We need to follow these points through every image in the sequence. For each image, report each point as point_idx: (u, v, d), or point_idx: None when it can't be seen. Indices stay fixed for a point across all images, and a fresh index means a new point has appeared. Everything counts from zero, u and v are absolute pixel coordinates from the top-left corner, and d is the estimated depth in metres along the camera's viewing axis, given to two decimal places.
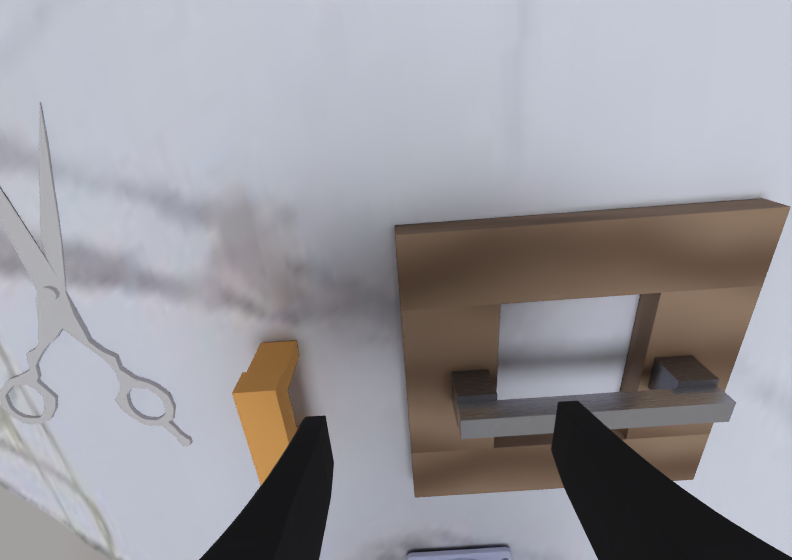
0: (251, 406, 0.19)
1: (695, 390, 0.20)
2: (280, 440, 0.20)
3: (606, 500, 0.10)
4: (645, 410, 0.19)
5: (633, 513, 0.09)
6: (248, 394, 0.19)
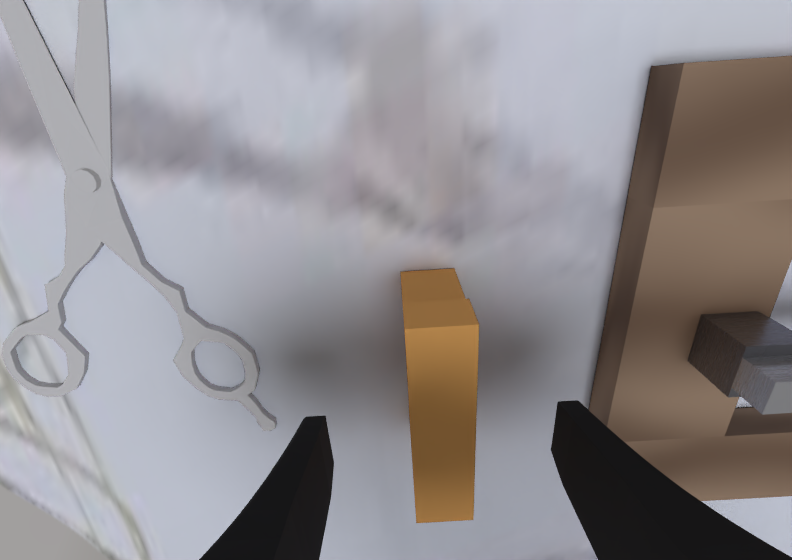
0: (431, 353, 0.11)
1: None
2: (464, 414, 0.12)
3: (606, 500, 0.10)
4: None
5: (633, 513, 0.09)
6: (431, 331, 0.11)
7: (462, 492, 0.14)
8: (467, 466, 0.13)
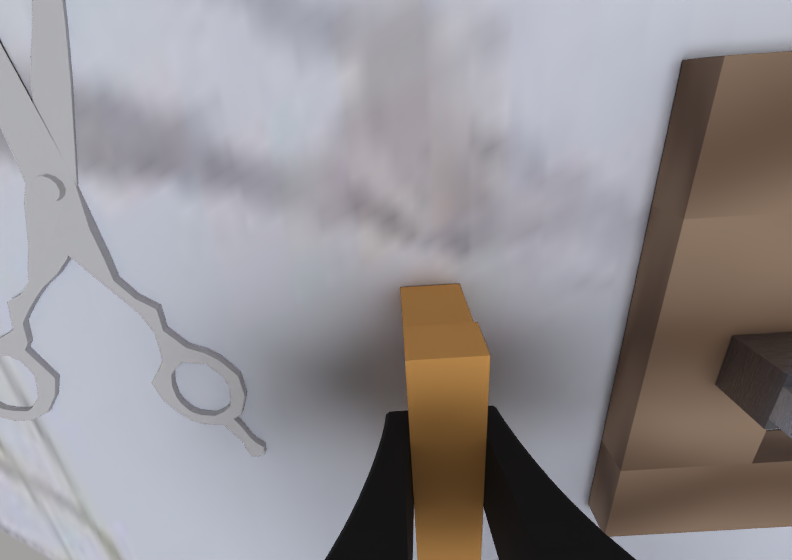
0: (436, 387, 0.10)
1: None
2: (472, 452, 0.11)
3: (501, 506, 0.10)
4: None
5: (515, 520, 0.09)
6: (435, 363, 0.10)
7: (469, 534, 0.12)
8: (475, 507, 0.12)
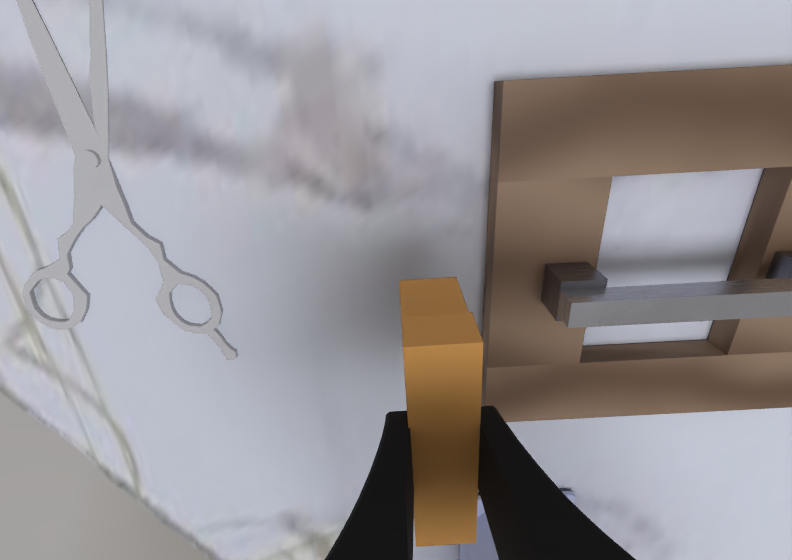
0: (432, 373, 0.10)
1: None
2: (466, 435, 0.11)
3: (502, 506, 0.10)
4: (784, 294, 0.17)
5: (515, 520, 0.09)
6: (431, 350, 0.10)
7: (464, 515, 0.13)
8: (470, 489, 0.12)
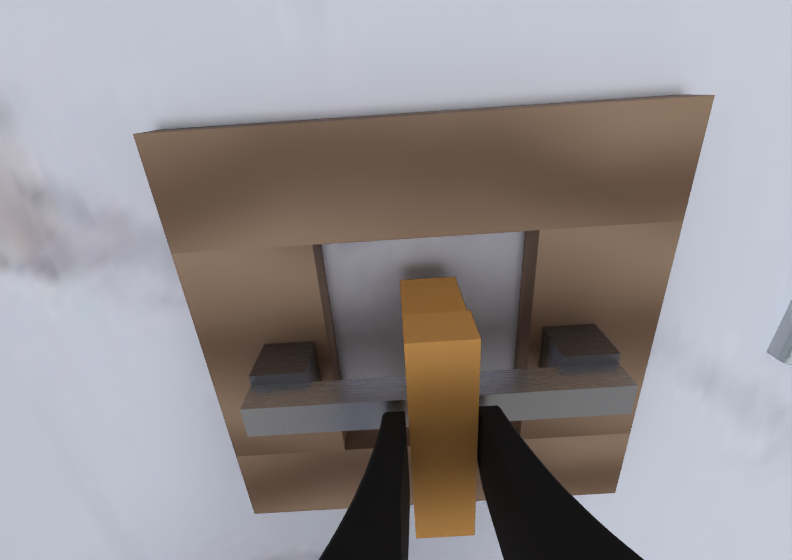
0: (432, 368, 0.11)
1: (586, 369, 0.14)
2: (465, 429, 0.12)
3: (507, 505, 0.10)
4: (507, 396, 0.13)
5: (521, 519, 0.09)
6: (431, 346, 0.11)
7: (463, 507, 0.13)
8: (468, 482, 0.13)
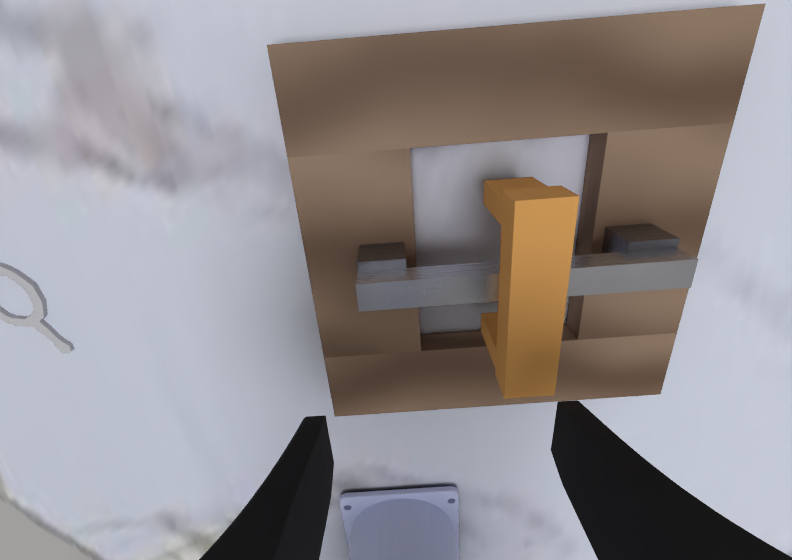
0: (536, 225, 0.13)
1: (650, 252, 0.16)
2: (557, 286, 0.14)
3: (606, 500, 0.10)
4: (585, 270, 0.15)
5: (633, 513, 0.09)
6: (537, 204, 0.13)
7: (548, 366, 0.15)
8: (555, 340, 0.15)
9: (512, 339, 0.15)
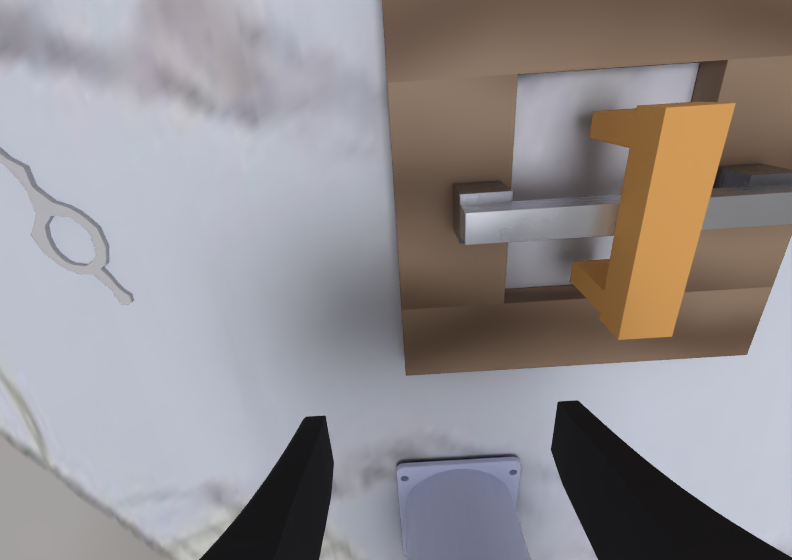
0: (684, 136, 0.12)
1: (773, 186, 0.15)
2: (695, 209, 0.13)
3: (606, 500, 0.10)
4: (711, 200, 0.14)
5: (633, 513, 0.09)
6: (688, 112, 0.12)
7: (670, 303, 0.14)
8: (683, 272, 0.14)
9: (637, 271, 0.14)
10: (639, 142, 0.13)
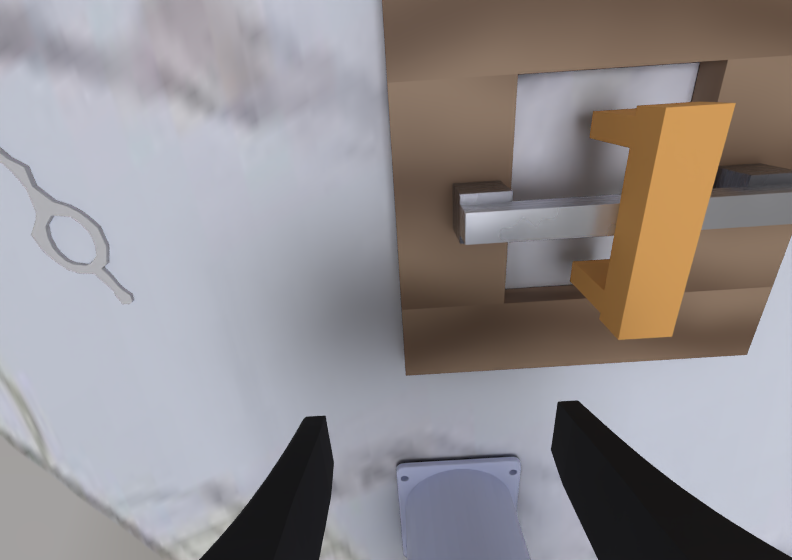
0: (684, 136, 0.12)
1: (773, 186, 0.15)
2: (695, 209, 0.13)
3: (606, 500, 0.10)
4: (711, 200, 0.14)
5: (633, 513, 0.09)
6: (688, 112, 0.12)
7: (670, 303, 0.14)
8: (683, 272, 0.14)
9: (637, 271, 0.14)
10: (639, 142, 0.13)
